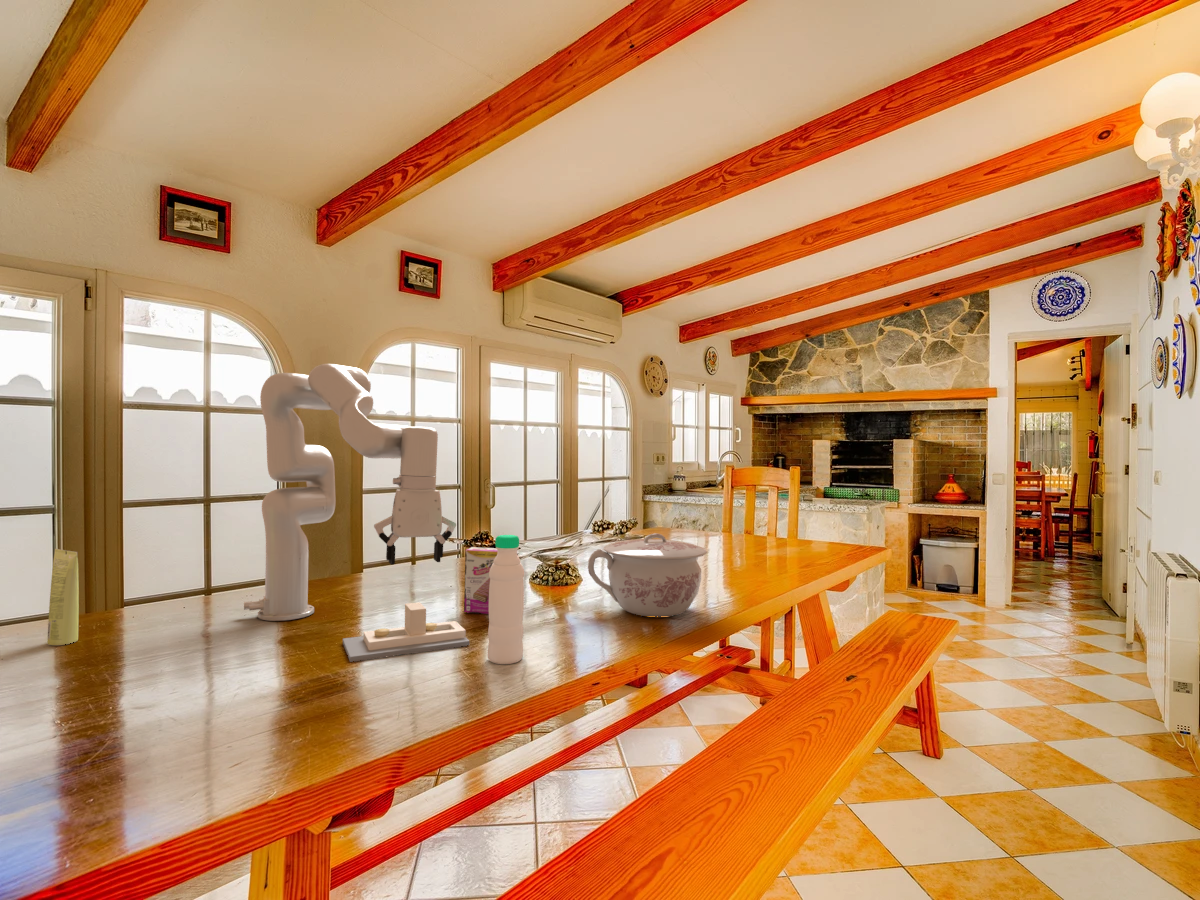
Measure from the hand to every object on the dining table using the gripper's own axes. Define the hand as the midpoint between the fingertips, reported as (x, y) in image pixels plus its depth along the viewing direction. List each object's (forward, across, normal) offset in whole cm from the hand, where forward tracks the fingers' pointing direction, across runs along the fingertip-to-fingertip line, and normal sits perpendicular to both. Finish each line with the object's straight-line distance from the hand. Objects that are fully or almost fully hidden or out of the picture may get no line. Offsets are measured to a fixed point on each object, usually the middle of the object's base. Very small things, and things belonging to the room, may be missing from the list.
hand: (414, 562), depth 135 cm
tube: (+20, -65, +30) cm, 74 cm away
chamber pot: (+17, +63, 0) cm, 65 cm away
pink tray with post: (+16, 0, -1) cm, 17 cm away
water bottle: (+17, +15, -19) cm, 29 cm away
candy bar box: (+18, +23, +17) cm, 33 cm away
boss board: (+18, -1, -1) cm, 18 cm away
